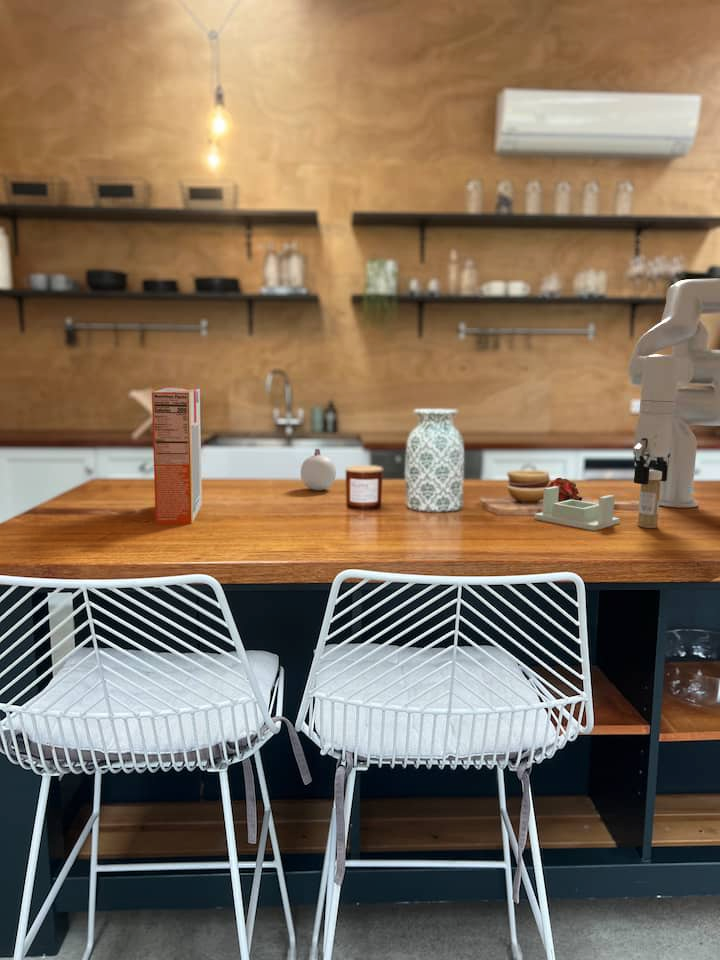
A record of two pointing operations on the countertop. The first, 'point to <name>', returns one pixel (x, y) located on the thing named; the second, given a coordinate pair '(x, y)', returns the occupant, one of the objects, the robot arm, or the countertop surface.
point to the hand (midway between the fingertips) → (650, 482)
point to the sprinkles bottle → (650, 501)
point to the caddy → (577, 511)
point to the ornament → (318, 472)
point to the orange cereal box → (177, 454)
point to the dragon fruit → (565, 490)
